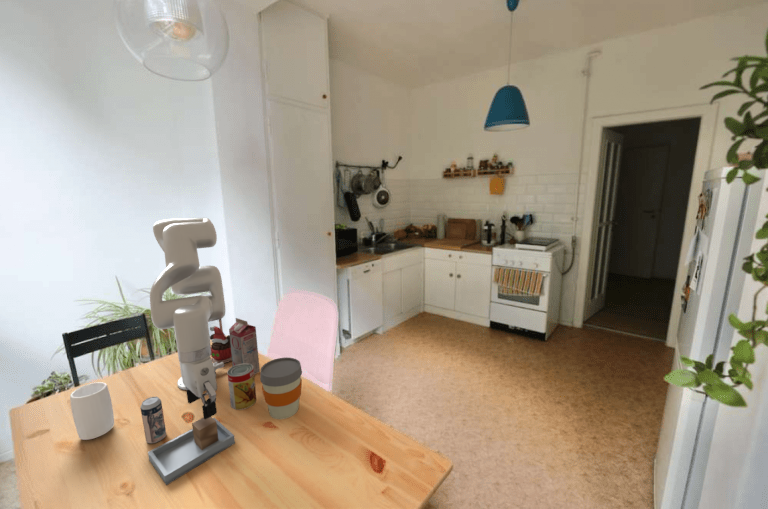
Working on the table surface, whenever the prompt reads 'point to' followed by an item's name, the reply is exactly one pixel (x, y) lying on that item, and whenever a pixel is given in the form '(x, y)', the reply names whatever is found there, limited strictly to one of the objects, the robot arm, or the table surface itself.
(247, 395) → the canned food
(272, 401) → the reusable coffee cup
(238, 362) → the juice carton
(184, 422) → the table surface
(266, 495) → the table surface
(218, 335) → the christmas cupcake figurine
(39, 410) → the table surface
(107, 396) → the cup
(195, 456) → the tray
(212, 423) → the block
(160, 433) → the beer can
